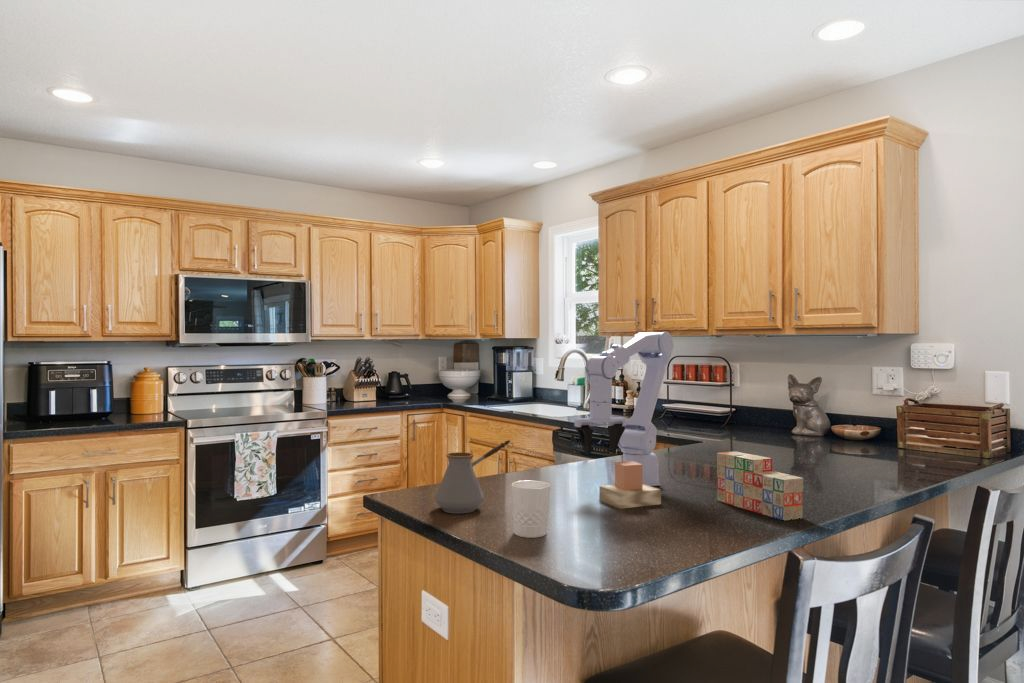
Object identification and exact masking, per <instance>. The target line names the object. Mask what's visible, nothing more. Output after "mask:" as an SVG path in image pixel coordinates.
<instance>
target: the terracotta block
mask: <svg viewBox="0 0 1024 683" xmlns="http://www.w3.org/2000/svg"><path fill="white" fill-rule="evenodd" d="M614 485H615V486H616V487H618V488H620V489H622V490H636V489H643V480H642V464H640V463H637V462H634V461H626V462H623V461H615V462H614Z"/></svg>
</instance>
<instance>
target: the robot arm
mask: <svg viewBox="0 0 1024 683" xmlns="http://www.w3.org/2000/svg"><path fill="white" fill-rule="evenodd" d="M674 347H675V346H674V341H673V337H672V335H671V334H670V333H669V332H668V331H662V332H659V331H655V332H654V331H652V332H649V331H648V332H643V331H640V332H637V333H635V334H634V335H633V337H632V339H630V340H628V341H627V342H626V343H625V344H623V345H622V344H612V345H611V347H610V348H609V349H607V350H606V351H605V350H604V351H602V352H601V354H600V355H594V356H591V357H589V359H588V360H587V362H586V364H585V365H586V366H585V367H584V370H585V373H586V375H587V383H588V384H589V417H584V418H574V422H573V423H574V424H573V425H574V427H575V428H576V429H575V430H576V432H577V434H578V436H579V438H580V440H581V443H582V444H581V445H582V448H583V452H584V454H585V455H587V456H589V455H590V456H591V453H592V440H593V438H592V437H593V432H594V429H593V428H591V427H602V426H603V427H605V426H606V427H607V431H608V437H609V438H608V439H609V441H608V443H609V446H608V447H609V448H608V449H609V453H611V454H617V450H618V448H619V449H620V452H621V453H622V462H626V461H634V462H637V463H640V464H642V480H643V484H645V485H648V486H651V487H657V486H658V487H659V486H661V483H659V472H660V470H659V466H660V465H659V464H660V463H659V459H658V456H657V454H656V453H654V452H653V451H654V450H655V448H656V445H657V433H658V429H657V427H656V425H655V424H653V422H652V418H653V416H654V412H655V409H656V405H657V401H658V399H659V394H660V391H661V387H662V385H663V382H664V381H663V380H664V377H665V374H666V370H667V366H668V364H669V363H670V360H671V357H672V354H673V349H674ZM636 354H637V355H638V357H639V359H640V361H641V362H642V364H644V365H645V366H646V370H645V373H644V376H643V380H642V383H641V386H640V390H639V393H638V397H637V399H636V403H635V407H634V410H633V413H632V416H630V417H629V418H627V417H624V416H623V417H622V416H619V417H618V416H617V417H616V416H613V417H612V414H613V413H612V410H613V409H612V406H613V405H612V404H613V403H612V402H613V400H612V397H613V396H612V394H613V393H612V392H613V388H612V387H613V378H614V377H616V373H617V371H618V370H619V369H620V368H622V367H623V366H625V365H626V364H628V363H629V361H630V359H631V357H632V356H634V355H636Z"/></svg>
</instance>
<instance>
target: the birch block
mask: <svg viewBox="0 0 1024 683" xmlns="http://www.w3.org/2000/svg"><path fill="white" fill-rule="evenodd" d="M598 491H599V495H598V497H599V501H600V502H602V503H604V504H607V505H610V506H612V507H615V508H617V509H619V510H621V509H629V508H630V509H631V508H638V507H647V506H657V505H658V506H659V505H661V504H662V489H660V488H658V487H656V486H648V485H645V484H643V489H636V490H622V489H620V488H618V487H616V486H615V484H608V485H607V484H606V485H599V490H598Z"/></svg>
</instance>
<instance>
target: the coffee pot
mask: <svg viewBox="0 0 1024 683" xmlns="http://www.w3.org/2000/svg"><path fill="white" fill-rule="evenodd" d="M509 444H511V445H512V446H510V445H509ZM506 445H507V446H508V447H509V448H510V449H511V448H513V447H514V443H513V442H512V441H511V440H510V439H507V440H505V441H504V442H501V443H500V445H497V446H495V447H493V448H492V449H490V450H488V452H486V453H485V454H483V455H482V456H480V457H479V458H478V459H476V460H474V461H472V458H473V457H474V453H470V452H448V453H447V454H446V455H445V456H446V458H447V460H448V465H447V468H446V470H445V472H444V475H443V477H442V479H441V482H440V484H439V486H438V489H437V491H436V494H435V496H434V501H435V503H436V504H437V506H438V507H439V508H441V509H442V511H444V512H445V513H448V514H449V513H450V514H468V513H469V514H470V513H472V512H475V511H476V510H477V508H479V507H480V506H481V505H482V504H483V502H484V499H485V497H484V496H485V495H484V493H483V490H482V488H481V486H480V483H479V480H478V478H477V475H476V472H475V471H474V468H473V467H475V466H476V465H478V464H479V463H481V462H482V461H484V460H485V459H487V458H489V457H491V456H492V455H494V454H496V453H498V452H499V451H500V450H502V449H503V448H505V446H506Z"/></svg>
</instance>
